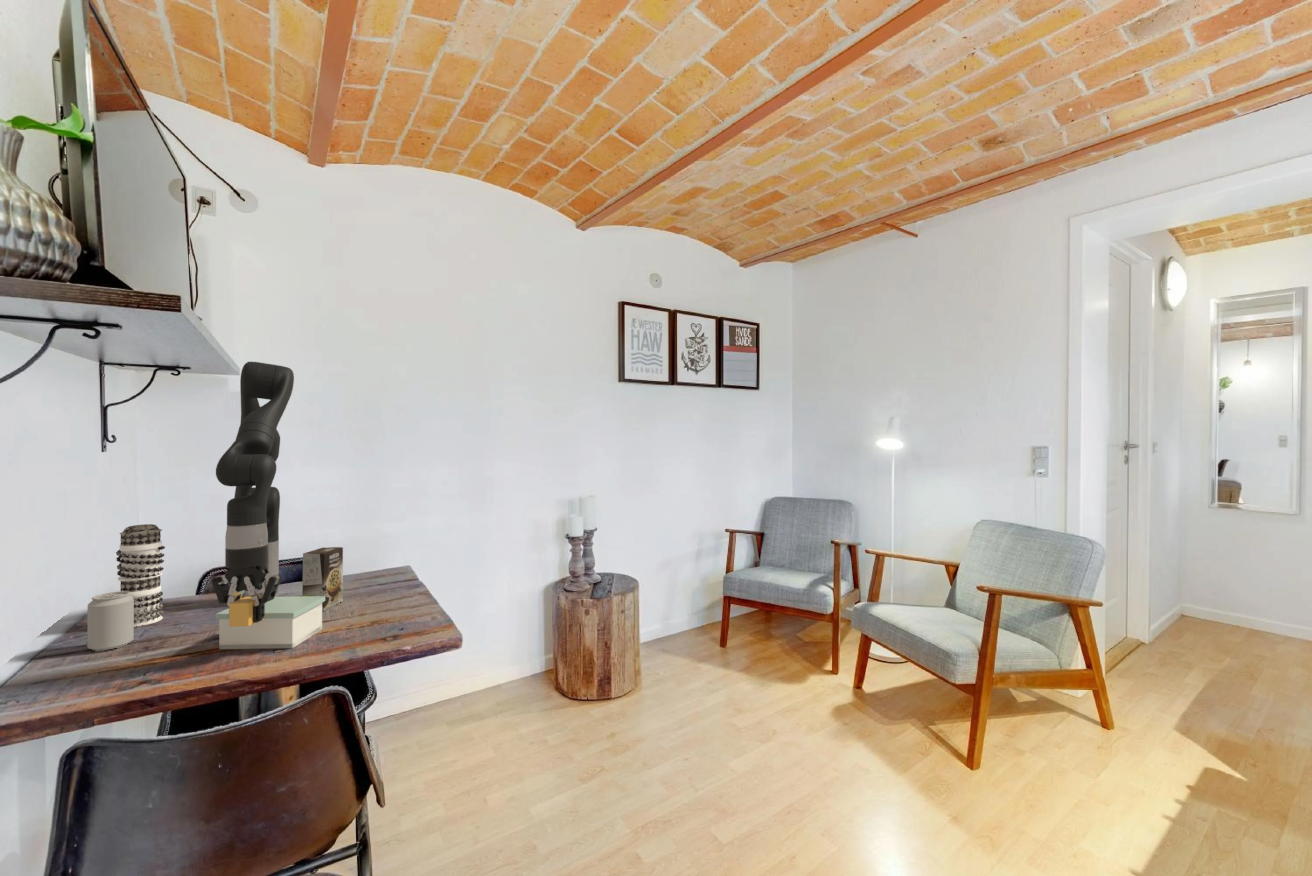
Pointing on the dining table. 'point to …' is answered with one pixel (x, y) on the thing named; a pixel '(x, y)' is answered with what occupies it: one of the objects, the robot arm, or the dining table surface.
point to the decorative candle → (142, 571)
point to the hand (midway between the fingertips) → (246, 621)
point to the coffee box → (324, 575)
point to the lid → (268, 609)
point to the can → (110, 620)
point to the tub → (271, 631)
